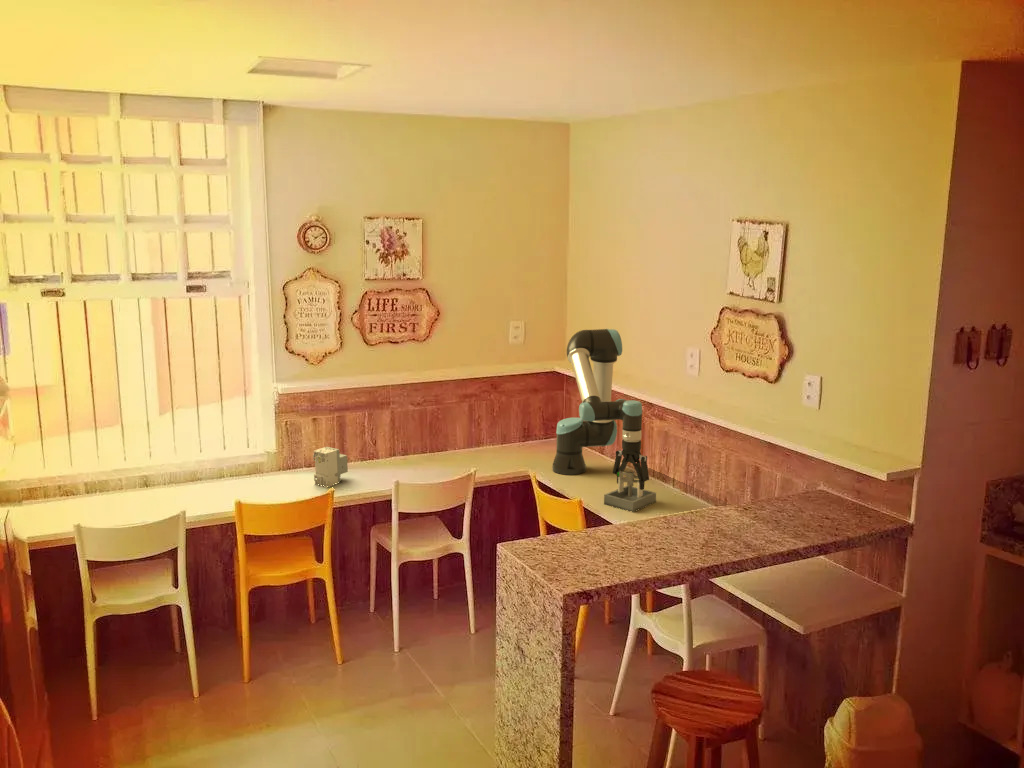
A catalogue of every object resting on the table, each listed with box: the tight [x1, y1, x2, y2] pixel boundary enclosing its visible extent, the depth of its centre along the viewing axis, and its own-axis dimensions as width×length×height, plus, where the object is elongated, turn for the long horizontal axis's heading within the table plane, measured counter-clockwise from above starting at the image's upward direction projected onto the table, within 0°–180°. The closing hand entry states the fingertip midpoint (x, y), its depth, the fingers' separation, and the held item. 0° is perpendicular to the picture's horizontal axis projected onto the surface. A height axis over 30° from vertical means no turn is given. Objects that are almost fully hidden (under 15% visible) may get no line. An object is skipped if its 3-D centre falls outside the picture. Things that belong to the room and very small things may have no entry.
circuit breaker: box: [312, 446, 349, 488], centre depth 383 cm, size 8×14×15 cm, turn 146°
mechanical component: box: [616, 470, 639, 497], centre depth 356 cm, size 3×10×10 cm, turn 79°
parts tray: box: [603, 485, 657, 513], centre depth 357 cm, size 16×14×4 cm
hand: (630, 494), depth 356 cm, fingers closed on mechanical component, 9 cm apart
